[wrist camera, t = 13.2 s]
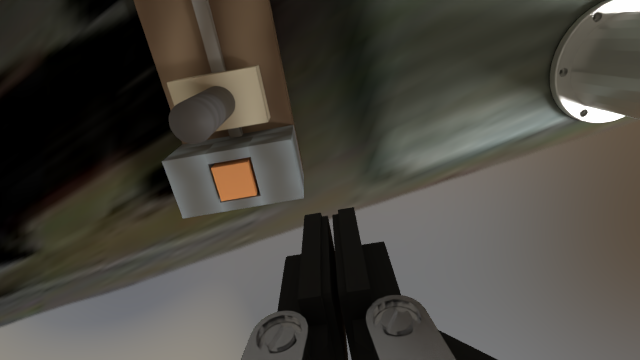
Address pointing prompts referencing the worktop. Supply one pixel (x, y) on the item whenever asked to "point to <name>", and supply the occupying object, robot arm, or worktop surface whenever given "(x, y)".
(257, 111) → the cream plate with knob
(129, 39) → the worktop surface
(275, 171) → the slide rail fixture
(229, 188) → the button
